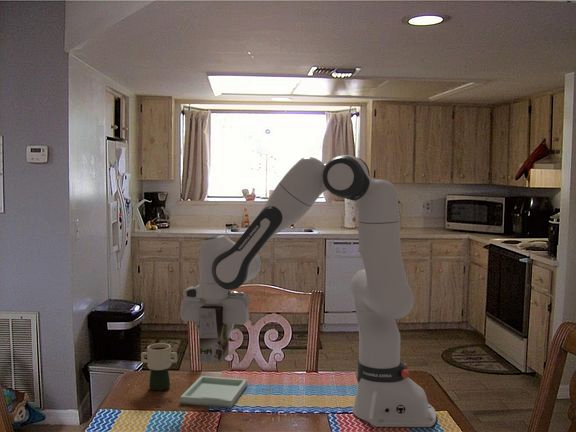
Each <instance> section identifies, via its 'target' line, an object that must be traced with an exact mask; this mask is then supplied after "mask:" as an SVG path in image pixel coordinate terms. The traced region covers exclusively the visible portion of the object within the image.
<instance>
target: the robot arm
mask: <svg viewBox="0 0 576 432" xmlns="http://www.w3.org/2000/svg"><path fill="white" fill-rule="evenodd" d="M327 191H328V192H329V193H331V195H334V196H337V197H338V198H343V199H347V200H349V201H353V202H354V201H355V203H356V206H357V226H358V227H357V229H358V231H357V232H358V250H359V252H358V253H359V254H360V256H361V257H360V258H361V259H362V264H363V266H364V267H363V269H360V270H358V271H356V273H355V274H354V275H353V276H352V278H351V281H350V289H351V290H350V291H351V293H352V295H353V296H352V297H353V300H354V308H355V312H356V313H355V314H356V321H357V326H358V333H359V334H358V335H359V339H358V342H359V343H358V347H359V348H358V356H359V357H358V359H357V365H356V380H357V387H356V388H357V389H356V394H355V398H354V403H353V407H352V409H351V410H352V413H353V415H354V416H356V417H357V418H358V419H361V420H363V421H366V422H367V423H369V424H370V425H371V426H373V427H377V428H378V427H379V428H430V427H433V426H434V425H435V424H436V422H437V412H436V409H435V408H434V407H433V406H432V405H431V404H430V403H429V401H428V398H427V394H426V392H425V390H424V388H423V387H421V386H420V385H419V384H418V383H416V382H415V381H413V380H412V379H411V378H410V371H409V369H408V366H407V364H406V362H404V363H403V362H402V361H401V333H400V330H399V328H398V327H399V326H398V324H397V320H399V319H402V318H404V317H406V316H407V315H408V314H410V312H411V311H412V309H413V308H414V303H415V296H414V293H413V290H412V289H411V287H410V283H409V281H408V278H407V274H406V268H405V265H404V259H403V256H402V255H403V254H402V248H401V247H402V246H401V221H400V220H401V217H400V216H401V215H400V205H399V204H400V203H399V198H398V194H397V189H396V187H395V185H394V184H393V183H392V182H390V181H389V180H386V179H381V178H379V179H378V178H377V179H376V178H373V177H371V175H370V169H369V166H368V164H367V163H366V162H365V161H364V160H363V159H361V158H360V157H357V156H354V155H350V154H342V155H338V156H335V157H333V158H331V159H330V160H329V161H328V162H327V163H324V162H322V161H321V160H319V159H318V158H315V157H314V156H313V157H312V156H305V157H301V159H299V160H298V161H297V162H296V163H295V164H294V165H293V166H292V167H291V168H290V169H289V170H288V171H287V173H285V175H284V176H283V177H282V178H281V180H280V182H278V184H277V185H276V187H275V188H274V190H273V191H272V193H271V194H270V196H269V197H268V199H267V201H266V202H265V204H264V205H263V207H262V208H261V210H260V211H259V213H258V214H257V216H256V217H255V219H254V220H253V221H252V223H251V224H250V225H249V226H248V227H247V229H246V230H245V231H244V233H243V234H242V235H241V236H240V237H239V238H238V240H237V241H236V242H235V241H233V240H232V239H230V238H229V236H227V235H226V234H220V235H214V236H213V235H212V236H208V237H206V238H204V239H203V240H202V241H201V244H200V248H199V257H198V259H199V260H198V263H199V270H200V276H199V279H198V281H199V283H198V284H194V285H192V286H189V287H187V288H186V289H184V290H183V291H182V294H183V295H182V296H183V298H182V299H181V303H180V308H179V310H180V313H179V317H180V319H181V320H182V321H183V322H194V326H195V328H196V329H197V331H198V332H199V328H200V307H202V306H221V307H223V323H225V324H228V327H229V330H228V331H225V332H224V338H227V339H230V338H231V337H232V336H231V332H232V331H233V328H234V327H235V325H243V326H244V325H246V324H247V323H248V322H249V320H250V313H249V305H250V297H249V296H248V295H247V294H246V293H245V292H243V291H239V292H238V291H232V290H236V289H239V287H241V286H242V285H244V284H246V283H247V282H249V281H251V280H253V279H255V278H256V277H257V276H258V275H259V274H260V272H261V271H262V269H263V260H262V257H261V255H260V253H259V252H261V250H262V249H264V248H263V247H264V246H265V245H266V244H267V242H268V241H269V240H271V238H273V237H274V236H275V235H277V234H279V232H281V231H282V230H285V229H286V228H288V227H291V226H292V225H295V224H296V223H297V222H298V221H299V220H301V219H302V218H303V217H304V216H305V215H306V213H307V212H308V211H309V210H310V209H311V207H312V206H313V205H314V204H315V202H316V201H317V199H319V197H320V196H321V195H322V194H324V193H325V192H327Z"/></svg>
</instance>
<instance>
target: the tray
mask: <svg viewBox="0 0 576 432" xmlns="http://www.w3.org/2000/svg"><path fill="white" fill-rule="evenodd" d="M247 387H248V379H247V378H246V379H245V378H233V377H224V376H223V377H221V376H209V375H200V376H199V378H197V379H196V380H195V381H194V382H193V383H192V384H191V385H190V386H189V388H187V389H186V390H185V391H184V393H183V394H181V396H180V397H179V398H180V404H181V405H192V406H193V405H194V406H204V407H206V406H207V407H214V408H215V407H217V408H227V409H231V408H233V406H234V405H235V403H236V402H237V400H238V399H239V398H240V396H241V395H242V394H243V393H244V391H245V390H246V388H247Z"/></svg>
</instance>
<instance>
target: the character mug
mask: <svg viewBox="0 0 576 432" xmlns="http://www.w3.org/2000/svg"><path fill="white" fill-rule="evenodd" d="M171 346H172V345H171V344H169V343H165V342H159V343H157V342H156V343H153V344H152V343H151V344H149V345H148V346H147V348H146V351H143V352H141V354H140V357H141V358H140V361H141V363H143V364H147V368H148V369H149V370H150V376H149V386H148V388H149V389H150V390H154V391H162V390H165V389H168V388H169V387H171V381H170V380H171V379H170V374H169V369H168V368H170V367H171V365H172V364H176V363H178V353H177V352H176V351H172V347H171ZM145 356H146V358H147V359H145ZM172 356H173V359H172Z"/></svg>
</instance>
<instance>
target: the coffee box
mask: <svg viewBox="0 0 576 432" xmlns="http://www.w3.org/2000/svg"><path fill="white" fill-rule="evenodd" d="M229 328H230V327H228V324H225V323H223V307H221V306H202V307H200V328H199V331H198V337H199V342H198V343H199V344H198V345H199V349H198V350H199V352H198V353H199V357H198V361H199V363H205V364H206V363H207V364H215V365H220V364H221V363H222V361H223V360H225V359H226V358H227V357H228V356H229V351H230V350H229V349H230V347H229V346H230V345H229V344H230V342H229V339H230V338H229V339H227V338H224V332H225V331H228V330H229Z"/></svg>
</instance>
